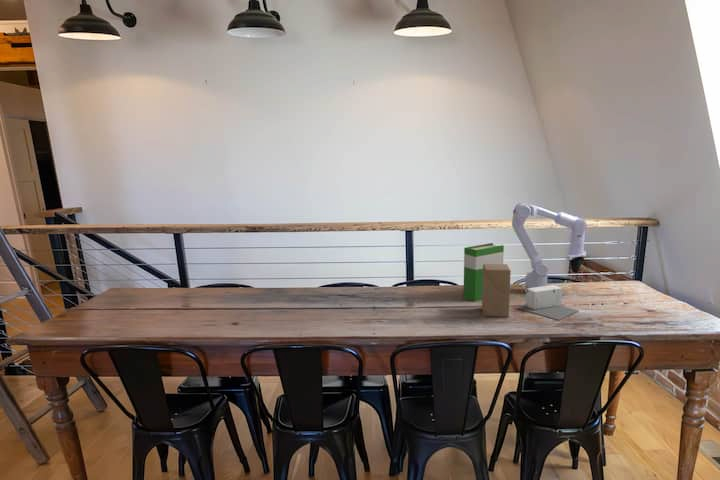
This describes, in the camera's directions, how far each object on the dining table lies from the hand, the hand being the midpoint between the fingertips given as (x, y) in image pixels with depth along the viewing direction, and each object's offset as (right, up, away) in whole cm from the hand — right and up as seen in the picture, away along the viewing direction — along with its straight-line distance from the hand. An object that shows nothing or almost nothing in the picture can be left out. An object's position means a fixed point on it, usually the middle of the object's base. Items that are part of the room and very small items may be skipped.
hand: (575, 272), depth 202 cm
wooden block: (-43, -16, -19) cm, 50 cm away
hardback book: (-42, -12, +3) cm, 44 cm away
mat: (-20, -15, -18) cm, 31 cm away
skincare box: (-14, -9, -12) cm, 20 cm away
